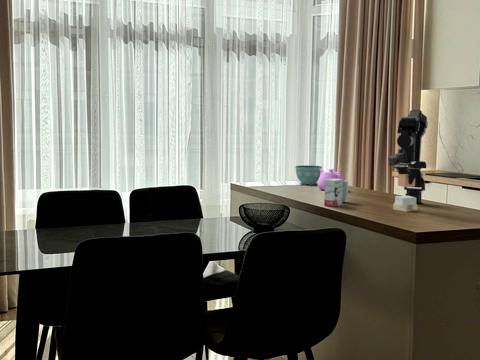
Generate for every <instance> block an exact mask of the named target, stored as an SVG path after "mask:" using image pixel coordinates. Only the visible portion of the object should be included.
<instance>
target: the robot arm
mask: <svg viewBox="0 0 480 360" xmlns="http://www.w3.org/2000/svg"><path fill="white" fill-rule="evenodd" d="M427 129H428V117H427V116H426V115H425V114H424V113H423V110H420V109H418V110H417V109H413V110H410V111H409V114H407V116H402V117H401V118H400V120H399V121H398V126H397V134H400V135H399V136H398V137H397V139H396V145H398V147H399V148H400V149H398V150H397V153H394V154H392V155H390V156H388V157H387V159H388V165H389V166H393V168H394V169H395V170H396V171H397V172H398V174H408V179H409V184H412V183H413V181H414V179H415V187H403V190H404V191H405V190H406V191H405V196H411V197H415V198H416V204H417V205H420V204H421V205H422V204H424V202H422V193H423V192H425V191H426V180H425V179H424V177H423V173H422V171H421V170H422V169H427V162H426V161H422V160H421V152H422V139H423V137H424V136H425V134H426V133H427V132H426V131H427Z"/></svg>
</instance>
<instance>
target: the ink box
mask: <svg viewBox="0 0 480 360" xmlns="http://www.w3.org/2000/svg"><path fill="white" fill-rule="evenodd" d="M343 180H344V178H343V179H325V190H324V204H323V205H324V206H325V207H331V206H332V207H333V208H335V207H338V206H342V205H343V202H342V186H343ZM334 206H335V207H334Z"/></svg>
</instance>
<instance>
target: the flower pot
mask: <svg viewBox="0 0 480 360" xmlns="http://www.w3.org/2000/svg"><path fill="white" fill-rule="evenodd" d="M294 168H295V174H296V177H297V179H298V181H299V182H300V185H305V184H309V186H311V185H316V184H318V180H319V177H320V174H321V172H320V169H322V170H323V166H322V165H296V166H295V167H294Z"/></svg>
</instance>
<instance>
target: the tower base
mask: <svg viewBox="0 0 480 360" xmlns="http://www.w3.org/2000/svg"><path fill="white" fill-rule="evenodd" d="M392 205H393V206H392V209H393V210H395V211H400V212H406V213H407V212H415V211H418V204H416V205H400V204H397V203H395V202H394V203H393V204H392Z"/></svg>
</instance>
